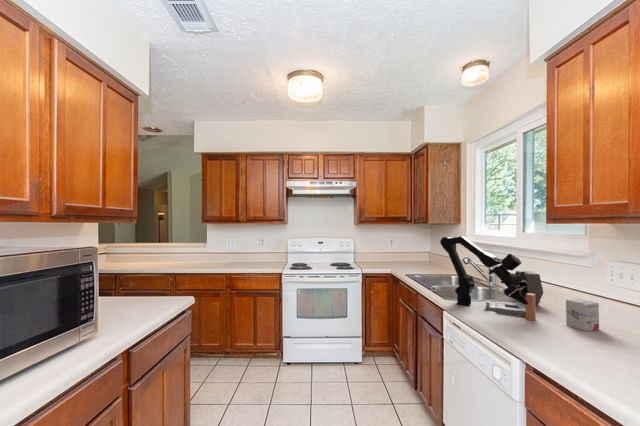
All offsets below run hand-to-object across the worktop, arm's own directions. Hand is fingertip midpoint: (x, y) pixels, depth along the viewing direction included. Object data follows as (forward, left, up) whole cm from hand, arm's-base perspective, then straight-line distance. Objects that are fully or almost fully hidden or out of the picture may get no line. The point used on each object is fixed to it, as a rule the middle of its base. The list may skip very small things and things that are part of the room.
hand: (530, 302), depth 150 cm
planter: (+2, +34, -8) cm, 35 cm away
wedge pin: (0, 0, -8) cm, 8 cm away
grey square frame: (-7, +10, -8) cm, 15 cm away
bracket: (-16, +8, -8) cm, 20 cm away
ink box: (+19, -2, -8) cm, 21 cm away
